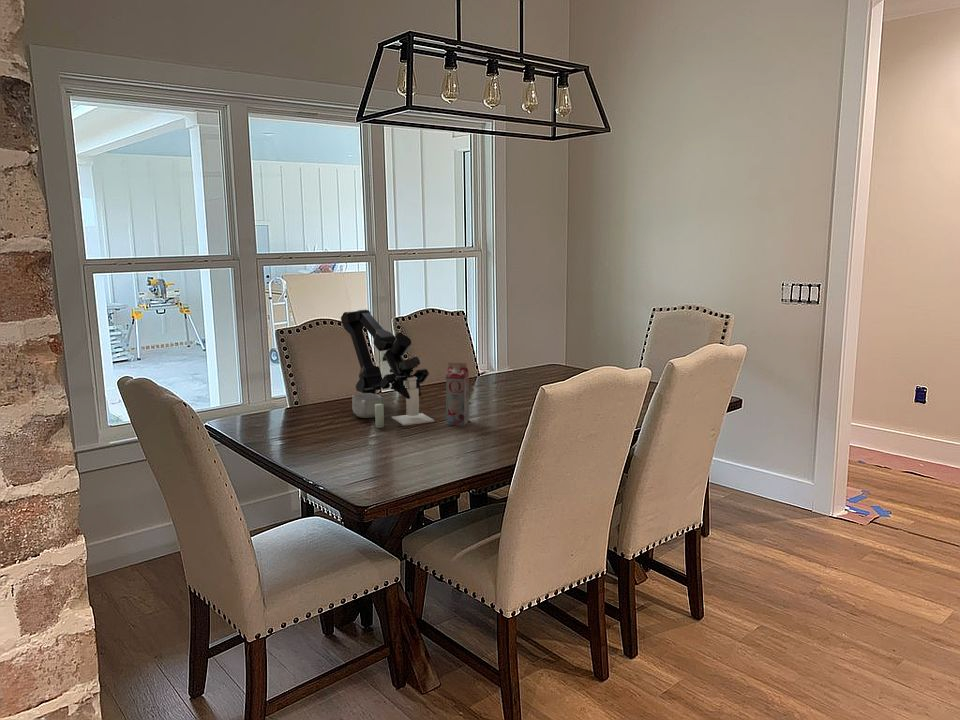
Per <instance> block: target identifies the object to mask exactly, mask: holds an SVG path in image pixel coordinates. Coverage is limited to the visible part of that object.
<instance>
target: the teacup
mask: <svg viewBox="0 0 960 720" xmlns="http://www.w3.org/2000/svg"><path fill="white" fill-rule="evenodd" d="M351 396H352V397H351V398H352V399H351V401H352V404H351V405H352V412H353V413H354V414H355V416H356V417H358V418H361V419H364V418H366V419H368V418H369V419H370V418H375V404H382V395H381V394H377V393H376V394H371V393H362V392H359V393H354V394H352V395H351Z"/></svg>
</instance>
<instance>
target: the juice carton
mask: <svg viewBox="0 0 960 720" xmlns="http://www.w3.org/2000/svg"><path fill="white" fill-rule="evenodd" d="M445 388H446V389H445V392H446V393H445V396H446V397H445V399H446V402H445V403H446V407H445V408H446V412H445V413H446V425H449V426H466V425H467V424H468V423H469V421H470V420H469V419H470V418H469V416H470V411H469V410H470V408H469V405H470V402H469V399H470V398H469V393H470V392H469V389H470V388H469V368H468V366H467V362H448V364H447V369H446V372H445ZM465 424H466V425H465Z"/></svg>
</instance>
